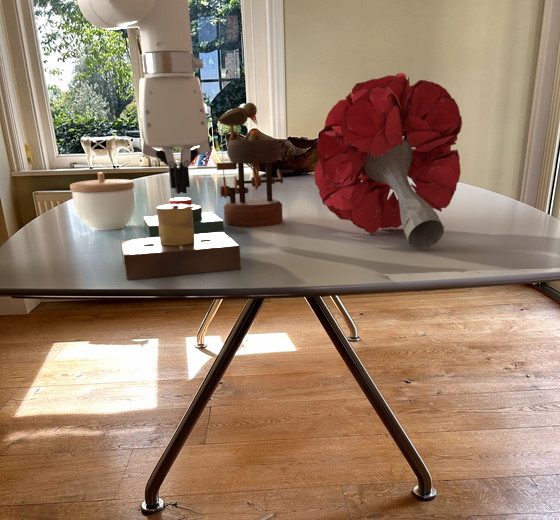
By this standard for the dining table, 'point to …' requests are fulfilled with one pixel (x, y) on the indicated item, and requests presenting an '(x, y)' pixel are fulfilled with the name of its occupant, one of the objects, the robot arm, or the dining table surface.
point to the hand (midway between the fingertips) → (180, 192)
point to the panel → (179, 256)
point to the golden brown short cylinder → (175, 224)
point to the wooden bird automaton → (254, 152)
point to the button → (181, 201)
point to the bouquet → (391, 157)
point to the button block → (201, 223)
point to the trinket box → (104, 202)
